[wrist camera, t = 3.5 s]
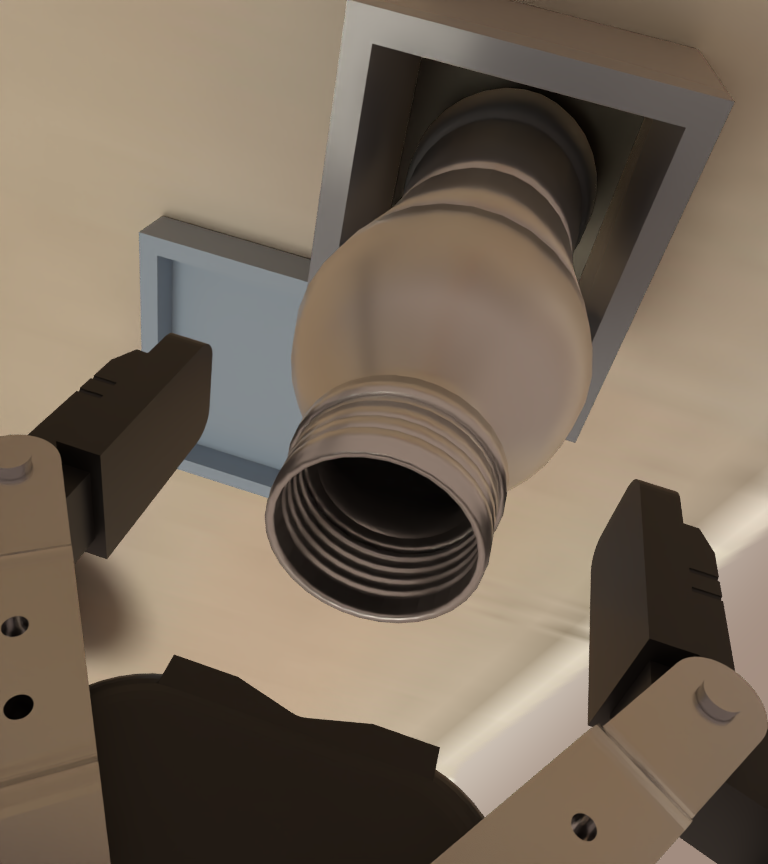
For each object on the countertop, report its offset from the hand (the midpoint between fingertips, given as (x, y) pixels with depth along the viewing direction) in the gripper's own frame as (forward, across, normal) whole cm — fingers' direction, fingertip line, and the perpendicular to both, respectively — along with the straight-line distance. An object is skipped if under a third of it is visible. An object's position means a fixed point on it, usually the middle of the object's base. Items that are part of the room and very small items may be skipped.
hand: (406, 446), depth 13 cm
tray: (+17, +8, +12) cm, 22 cm away
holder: (+17, 0, 0) cm, 17 cm away
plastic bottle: (+17, 0, 0) cm, 17 cm away
